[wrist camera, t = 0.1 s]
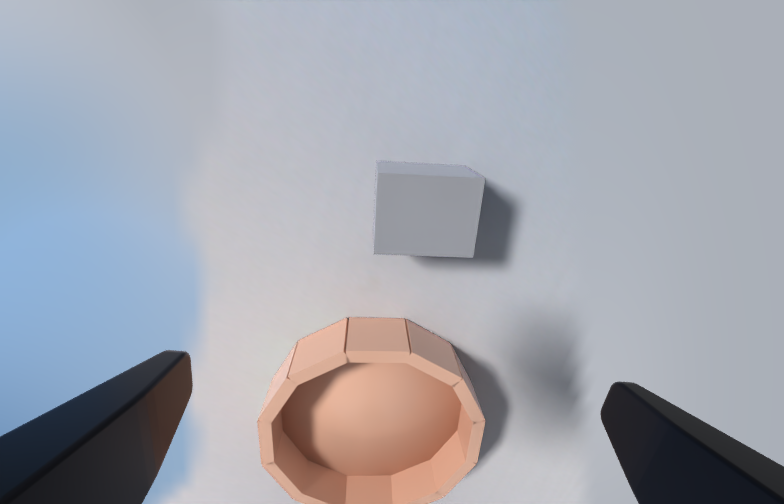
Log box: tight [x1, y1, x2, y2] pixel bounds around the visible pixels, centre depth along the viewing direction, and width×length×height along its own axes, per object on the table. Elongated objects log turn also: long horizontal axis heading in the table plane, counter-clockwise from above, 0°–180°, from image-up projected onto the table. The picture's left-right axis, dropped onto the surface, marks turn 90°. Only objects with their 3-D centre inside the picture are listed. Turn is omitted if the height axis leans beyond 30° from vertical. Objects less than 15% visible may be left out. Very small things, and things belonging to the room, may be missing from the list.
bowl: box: [257, 317, 485, 504], centre depth 25 cm, size 14×14×4 cm
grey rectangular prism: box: [373, 161, 485, 258], centre depth 19 cm, size 4×5×4 cm
